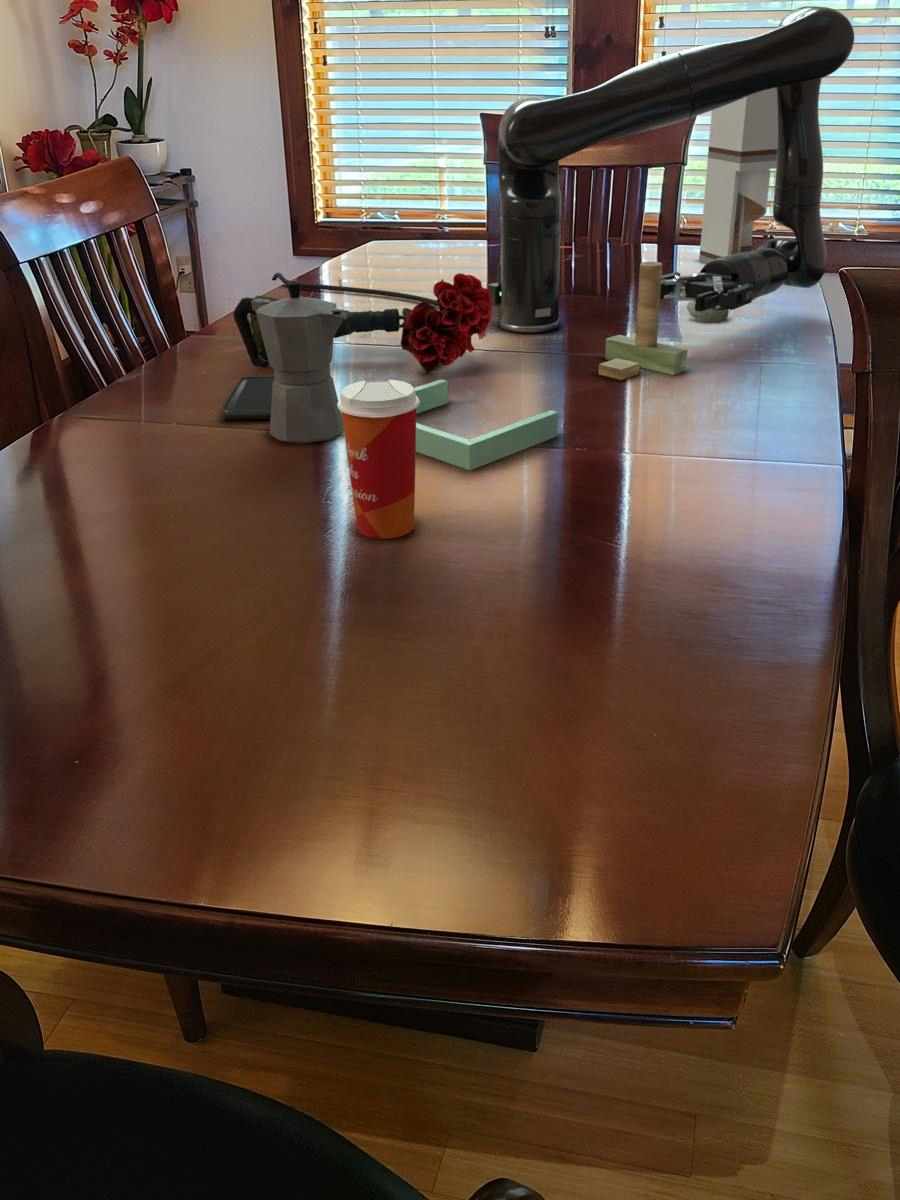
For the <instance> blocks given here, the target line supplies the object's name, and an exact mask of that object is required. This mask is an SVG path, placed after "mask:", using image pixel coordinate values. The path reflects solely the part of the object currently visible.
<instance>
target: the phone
mask: <svg viewBox="0 0 900 1200" xmlns="http://www.w3.org/2000/svg"><path fill="white" fill-rule="evenodd" d="M274 379H275V378H274V375H249V376H244V377H241V378H240V379H239V381H238V383H237V384H236V386H235V387H234V388H233V390H232V393H231V394H230V396H229V397H228V399H227V400H226V402H225V404H224V405H223V407H222V408H221V411H222V418H223V420H225V421H226V420H227V421H249V420H251V421H252V420H253V421H254V420H270V419H271V403H272V386H273V382H274Z"/></svg>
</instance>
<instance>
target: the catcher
mask: <svg viewBox="0 0 900 1200" xmlns="http://www.w3.org/2000/svg"><path fill="white" fill-rule="evenodd" d="M448 381H449V380H445V379H442V378H441V379H438V380H435V381H431V382H429V383H424V384H421V385H419V386H415V387H413V388H414V390H415V394H416V396H417V397H418V399H419V401H420V404H419V406H418V407H417V408H416V415H417V414H420V413H423V412H426V411H428V410H433V409H435V408H438V407H441V406H445V405H447V404H449V383H448ZM558 431H559V412H558V411H555V410H552V409H550V410H547V411H544V412H541V413H539V414H536V415H533V416H531V417H527V418H526V419H523V420H520V421H517V422H515V423H511V424H509V425H506V426H503V427H501V428H498V429H495V430H493V431H490V432H487V433H484V434H482V435H479V436H477V437H474V438H471V439H468V438H464V437H462V436H458V435H455V434H451V433H448V432H445V431H443V430H440V429H436V428H433V427H431V426H427V425H424V424H421V423H419V422H416V453H419V454H420V455H421V454H422V455H424V456H428V457H430V458H433V459H435V460H437V461H438V460H439V461H441V462H444V463H447V464H450V465H452V466H455V467H458V468H461V469H464V470H467V471H472V470H476V469H478V468H480V467H483V466H486V465H488V464H490V463H494V462H495V461H499V460H500V459H504V458H505V457H508V456H510V455H513V454H516V453H519V452H521V451H524V450H526V449H528V448H531V447H534V446H536V445H539V444H542V443H544V442H546V441H548V440H551V439H554V438H556V437H558V435H559V434H558V433H559V432H558Z"/></svg>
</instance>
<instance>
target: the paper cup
mask: <svg viewBox="0 0 900 1200" xmlns="http://www.w3.org/2000/svg"><path fill="white" fill-rule="evenodd" d="M414 388H415V387H414V386H413V385H412V384H410V383H408V382H406V381H402V380H397V379H388V381H384V380H383V379H373V380H370V382H369V381H368V382H366V380H361V381H357V382H353V383H350V384H348V385H346V386H345V387H344V388H343V389H342V390H341V392H340V399H338V401H339V402H338V404H337V407H338V409H339V410H340V411H341V413H342V420H343V435H344V442H345V449H346V457H347V464H348V471H349V472H348V473H349V478H350V486H351V494H352V501H353V509H354V514H355V521H356V522H355V523H356V527H357V530H358V532H359V533H360V534H361V535H363V536H364V537H367V538H371V539H375V540H376V539H377V540H389V539H390V540H391V539H396V538H400V537H403V536H406V535H407V534H409V533H410V532H412V530H413V529H414V524H415V523H414V522H415V504H416V503H415V502H416V500H415V499H416V453H417V452H416V423H417V414H416V408H417V407H418V406H419V404H420V401H419V399H418V397H417V396H416V394H415V390H414Z"/></svg>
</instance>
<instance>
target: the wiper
mask: <svg viewBox="0 0 900 1200" xmlns="http://www.w3.org/2000/svg"><path fill="white" fill-rule="evenodd" d="M638 274H639V277H638V294H637V310H636V325H635V327H636V328H635V337H631V336H627V335H622V334H617V335H614V336H610V337H607V338H605V353H604V359H605V360H607V361H610V360H613V359H616V358H619V359H623V360H627V361H632V362H636V363H639V368H640V369H641V368H642V369H646V370H649V371H654V372H659V373H663V374H667V375H671V376H675V375H677V374H681V373H684V372H685V371H687V365H688V364H687V363H688V351H689V349H687V348H683V347H678V346H673V345H669V344H663V343H660V342H658V335H659V322H660V321H659V319H660V305H661V299H660V293H661V278H662V276H663V263H662V262H660V261H643V262H640V264H639V273H638Z"/></svg>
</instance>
